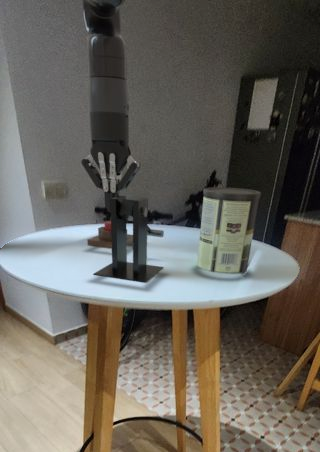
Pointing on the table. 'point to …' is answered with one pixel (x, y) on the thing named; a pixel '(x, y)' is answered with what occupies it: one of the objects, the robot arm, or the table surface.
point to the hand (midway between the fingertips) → (112, 211)
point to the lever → (127, 214)
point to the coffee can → (227, 229)
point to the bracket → (119, 244)
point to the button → (107, 225)
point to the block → (106, 239)
